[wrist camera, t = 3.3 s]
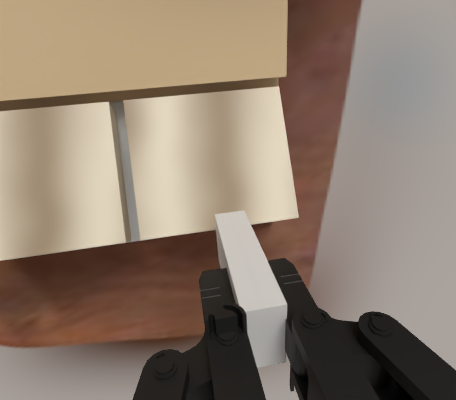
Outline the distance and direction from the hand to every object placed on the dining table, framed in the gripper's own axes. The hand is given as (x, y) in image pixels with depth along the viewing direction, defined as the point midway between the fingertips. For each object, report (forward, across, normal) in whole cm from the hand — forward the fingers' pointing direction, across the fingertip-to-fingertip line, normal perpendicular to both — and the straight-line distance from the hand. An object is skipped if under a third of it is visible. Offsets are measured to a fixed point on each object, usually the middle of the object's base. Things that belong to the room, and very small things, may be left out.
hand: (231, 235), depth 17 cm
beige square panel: (+6, 0, +2) cm, 6 cm away
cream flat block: (+6, -10, +2) cm, 12 cm away
